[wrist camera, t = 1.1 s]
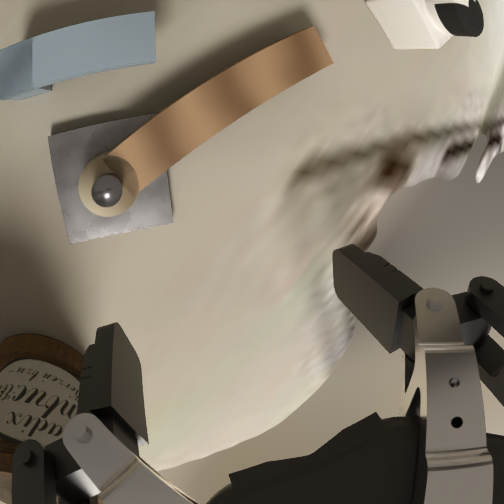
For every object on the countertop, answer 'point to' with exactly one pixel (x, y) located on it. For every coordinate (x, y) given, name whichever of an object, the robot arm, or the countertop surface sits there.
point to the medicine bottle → (426, 21)
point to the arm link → (203, 116)
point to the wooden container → (34, 396)
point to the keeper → (76, 53)
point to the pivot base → (78, 159)
